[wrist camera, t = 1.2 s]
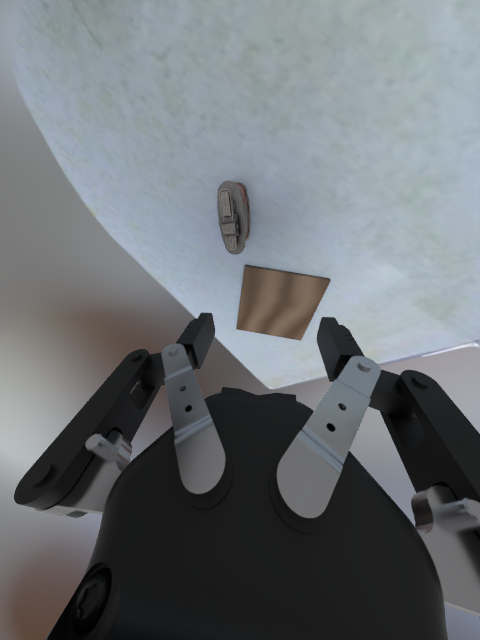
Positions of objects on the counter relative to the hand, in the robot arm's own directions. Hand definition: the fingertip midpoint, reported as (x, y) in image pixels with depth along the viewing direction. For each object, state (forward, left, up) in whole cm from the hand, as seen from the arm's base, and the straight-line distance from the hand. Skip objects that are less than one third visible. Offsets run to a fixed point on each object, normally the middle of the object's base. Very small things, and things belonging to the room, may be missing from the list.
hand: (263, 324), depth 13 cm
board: (+5, -12, -22) cm, 25 cm away
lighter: (-5, +4, -22) cm, 23 cm away
